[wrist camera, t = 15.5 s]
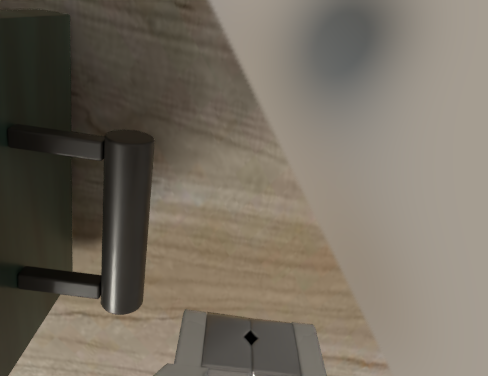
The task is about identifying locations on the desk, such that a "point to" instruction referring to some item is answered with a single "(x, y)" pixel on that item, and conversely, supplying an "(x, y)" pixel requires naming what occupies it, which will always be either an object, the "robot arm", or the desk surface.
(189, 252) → the desk surface
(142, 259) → the drawer
